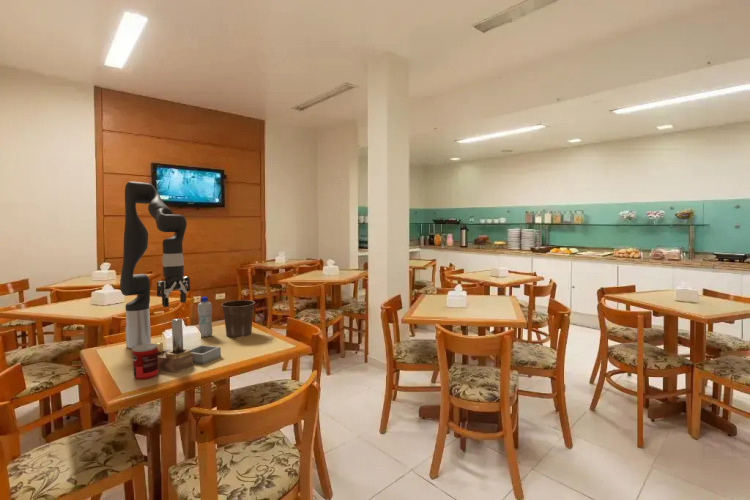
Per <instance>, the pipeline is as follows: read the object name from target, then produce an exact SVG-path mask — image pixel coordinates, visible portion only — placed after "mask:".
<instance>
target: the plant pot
mask: <svg viewBox="0 0 750 500" xmlns="http://www.w3.org/2000/svg"><path fill="white" fill-rule="evenodd" d="M255 304H256V302H255V301H254V300H248V299H247V300H246V299H237V300H230V301H225V302H223V303H221V304H220V306H221V307H222V313H223V318H224V324H225V326H224V327H225V334H226V337H228V338H243V337H247V336H250V335H251V334H252V331H253V330H252V329H253V317H254V316H253V315H254V310H255Z"/></svg>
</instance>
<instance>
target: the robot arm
mask: <svg viewBox="0 0 750 500" xmlns="http://www.w3.org/2000/svg"><path fill="white" fill-rule="evenodd" d="M137 204H148V207H147V210H148V213H149V214H150V216H151V217H152V218H153V219H154V221H155V224H156V228H157V230H159V231H160V232H162V233H174V234H173V236H171V237H167V238H164V239H163V240H162V262H161V263H162V277H164V279H163V280H158V281H157V282H156V297H159V298H161V304H162V306H163V308H169V306H170V302H169V299H170V298H169V295H170V294H171V293H172V292H173V291H176V290H178V292H179V297H180V298H179V299H180V303H181V304H182V303H183V304H184V303H186V301H187V293H188V292H190V291H191V284H190V283H191V282H190V281H191V280H190V277H189V276H185V265H184V262H185V261H184V255H183V241H184V236H185V232H186V230H187V225H188V223H187V220H186V217H185V216H184V215H182V214H174V212H173V211H172V210H171V208H169V207H168V205H167V204H165V203H164V201H163V200H162V197H161V196H160V194H159V193H158V190H157V189H156V186H154V185H153V184H151V183H149V182H140V181H128V182H127V183H126V184H125V186H124V216H125V217H124V233H123V255H122V259H123V260H122V267H121V273H120V280H119V288H120V292H121V294H122V295H123V296H136V297H135V298H134V299H132V300H130V301H129V302H127V303H126V304H125V320H126V321H125V322H126V323H125V324H126V326H125V327H124V328H125V329H124V331H125V346H126V347H127V348H129V349H132V350H133V348H134V347H135V346H138V345H143V344H152V339H151V338H152V336H151V335H152V333H151V320H150V319H151V315H150V302H151V295H150V294H151V293H150V292H151V282H150V278H149V275H148V274H146V273H138V274H137V273H136V274H134V271H135V268H136V265H137V264H138V262H140V259H142V257H143V256H144V254H145V253H146V251H147V249H148V246H149V232H148V230H147V228H146V226H145V224H144V223H143V222H142V220H141V219H140V217H139V214H138V212H137V207H136V206H137Z"/></svg>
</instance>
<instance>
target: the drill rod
mask: <svg viewBox="0 0 750 500" xmlns="http://www.w3.org/2000/svg"><path fill="white" fill-rule="evenodd" d="M183 333H184V332H183V319H182V318H173V319H171V334H172V335H171V338H172V339H171V341H172V350H173V353H175V354H179V353H182V352H183V349H184V335H183Z"/></svg>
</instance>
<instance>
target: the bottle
mask: <svg viewBox="0 0 750 500" xmlns="http://www.w3.org/2000/svg"><path fill="white" fill-rule="evenodd" d="M212 312H213V307H212V302H210V301H209V297H208V296H202V297H200V302H198V304H197V314H198V332H199V331H200V333H201V336H202V337H201V338H208V337H211V336H212V335H213V324H212V323H213V322H212V321H213V320H212V318H213V317H212Z"/></svg>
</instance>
